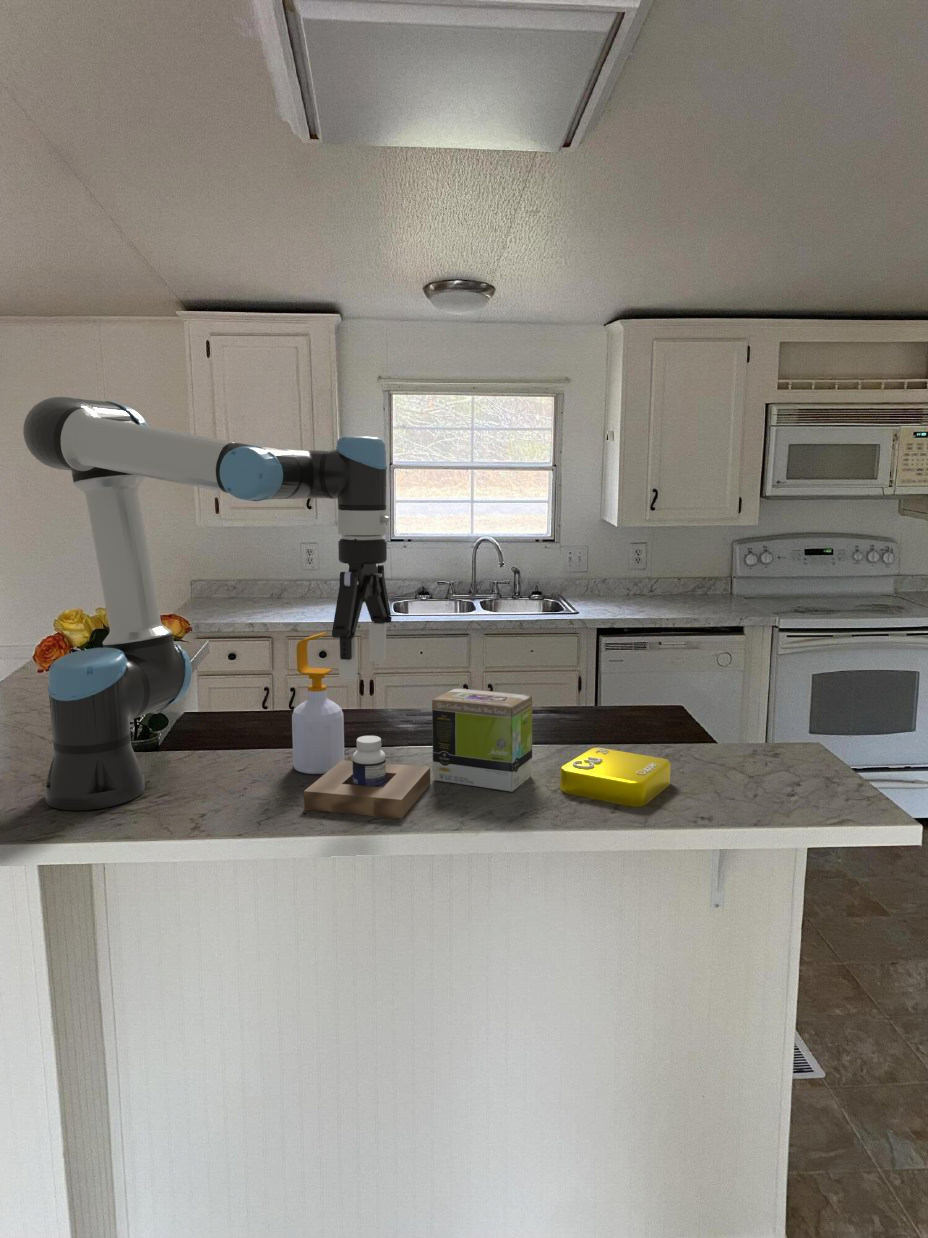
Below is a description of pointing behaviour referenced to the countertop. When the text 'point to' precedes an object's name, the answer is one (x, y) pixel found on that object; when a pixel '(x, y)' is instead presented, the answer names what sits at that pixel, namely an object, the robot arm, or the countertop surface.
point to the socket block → (368, 791)
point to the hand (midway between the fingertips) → (363, 670)
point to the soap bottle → (316, 722)
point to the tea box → (482, 738)
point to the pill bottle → (369, 762)
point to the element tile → (616, 776)
